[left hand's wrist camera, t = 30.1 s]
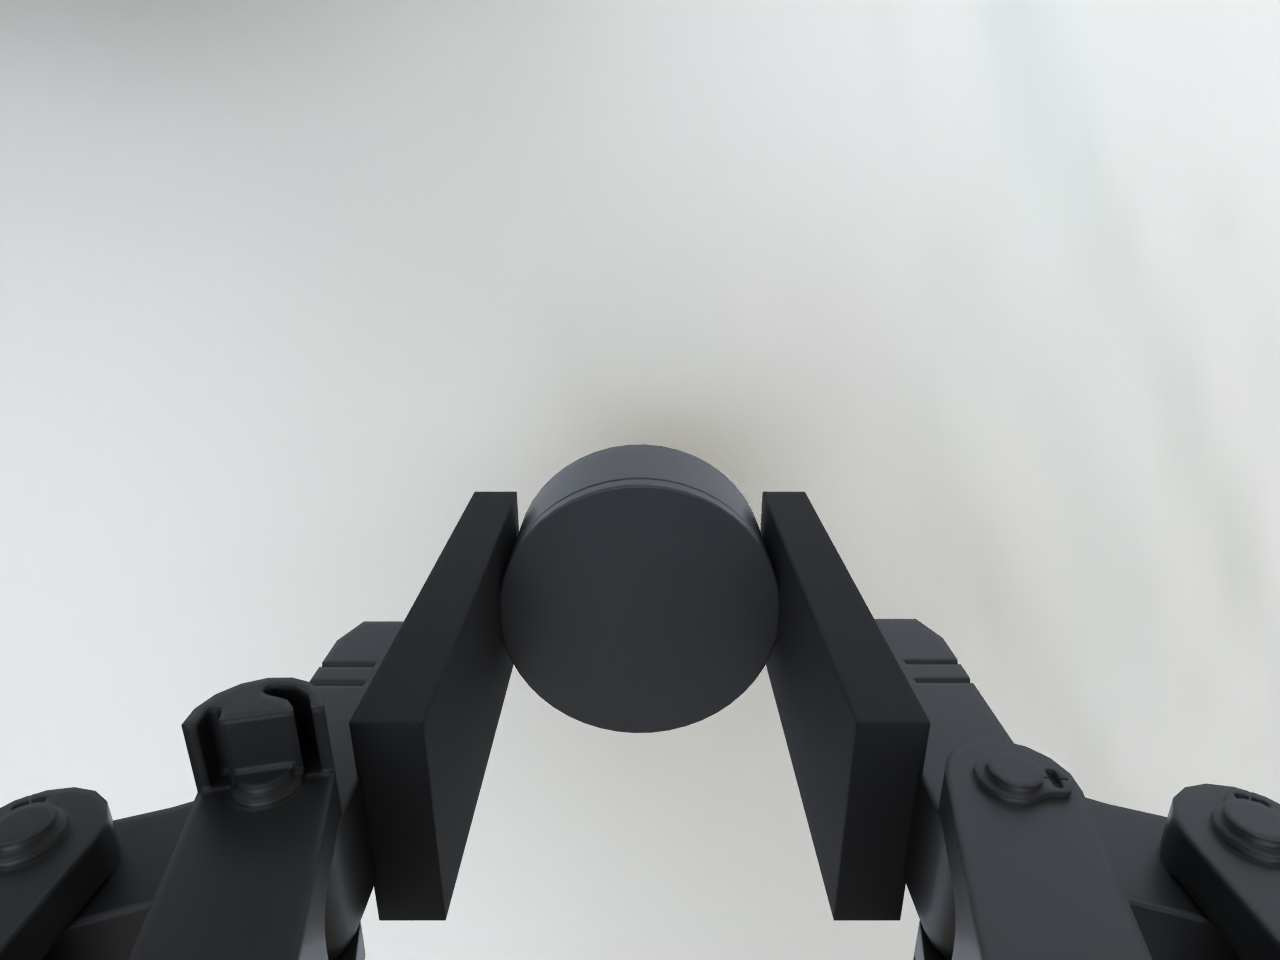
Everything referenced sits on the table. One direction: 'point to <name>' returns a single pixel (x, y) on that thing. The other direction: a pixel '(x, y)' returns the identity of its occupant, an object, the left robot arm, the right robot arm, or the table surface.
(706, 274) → the table surface
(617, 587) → the cap
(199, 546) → the table surface
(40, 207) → the table surface
